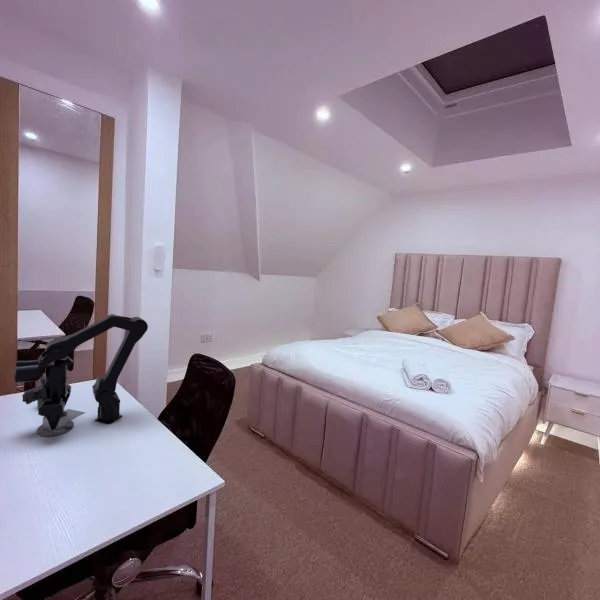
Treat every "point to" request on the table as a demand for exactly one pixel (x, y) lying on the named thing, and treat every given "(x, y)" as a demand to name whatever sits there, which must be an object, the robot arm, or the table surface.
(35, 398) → the robot arm
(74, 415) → the stand pad
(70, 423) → the hub
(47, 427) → the ring
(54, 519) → the table surface
